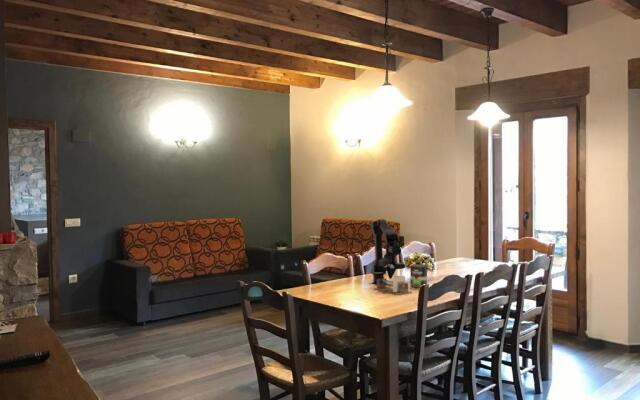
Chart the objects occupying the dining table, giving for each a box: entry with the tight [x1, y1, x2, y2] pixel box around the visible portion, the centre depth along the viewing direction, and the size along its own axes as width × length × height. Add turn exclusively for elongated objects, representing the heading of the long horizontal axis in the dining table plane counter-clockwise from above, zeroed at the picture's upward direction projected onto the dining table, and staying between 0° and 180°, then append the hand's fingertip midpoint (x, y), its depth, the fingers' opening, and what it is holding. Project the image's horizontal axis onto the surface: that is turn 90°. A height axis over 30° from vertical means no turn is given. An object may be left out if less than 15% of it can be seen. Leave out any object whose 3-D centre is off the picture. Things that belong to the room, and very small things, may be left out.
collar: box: [392, 275, 406, 292], centre depth 313 cm, size 3×7×9 cm, turn 128°
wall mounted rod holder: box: [373, 277, 413, 296], centre depth 318 cm, size 22×10×6 cm, turn 38°
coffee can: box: [409, 263, 428, 291], centre depth 326 cm, size 10×10×14 cm
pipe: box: [381, 279, 406, 294], centre depth 318 cm, size 20×10×6 cm, turn 38°
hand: (390, 278), depth 319 cm, fingers closed
